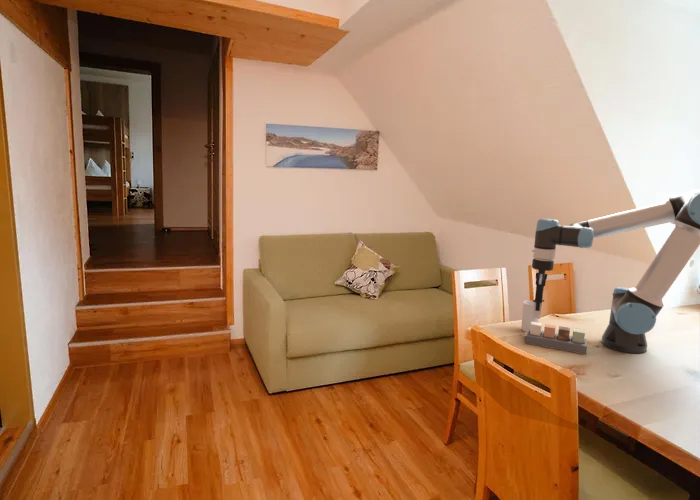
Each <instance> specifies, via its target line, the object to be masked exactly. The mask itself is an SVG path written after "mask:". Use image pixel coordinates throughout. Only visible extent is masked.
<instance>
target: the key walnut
mask: <svg viewBox="0 0 700 500" xmlns="http://www.w3.org/2000/svg"><path fill="white" fill-rule="evenodd" d="M570 332H571V328H570V327H566V326H560V325H558V332H557V334H558V339H561V340H567V341H569V336H570V334H571V333H570Z"/></svg>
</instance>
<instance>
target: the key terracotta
mask: <svg viewBox="0 0 700 500" xmlns="http://www.w3.org/2000/svg"><path fill="white" fill-rule="evenodd" d="M543 329H544V330H543V331H544V337H549V338H554V336H555V334H556V325H554V324H548V323H545V324H544V328H543Z"/></svg>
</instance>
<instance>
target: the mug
mask: <svg viewBox="0 0 700 500" xmlns="http://www.w3.org/2000/svg"><path fill="white" fill-rule="evenodd" d="M534 303H535V302H533V300H523V304H522V316H521V325H520V326H521V327H520V328H521V329H520V330H522V331H523V332H526V333H527V331H528V329H530V327H531V322H537V323H539V321H540V319H537V318H533V311H534Z"/></svg>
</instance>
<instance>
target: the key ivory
mask: <svg viewBox="0 0 700 500" xmlns="http://www.w3.org/2000/svg"><path fill="white" fill-rule="evenodd" d="M542 325H543V323H542V322H538V323H537V322H531V327H530V334H532V335H538V336H540V334H541V331H542Z"/></svg>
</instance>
